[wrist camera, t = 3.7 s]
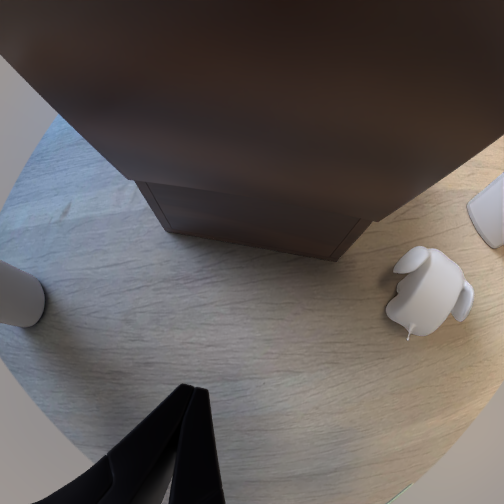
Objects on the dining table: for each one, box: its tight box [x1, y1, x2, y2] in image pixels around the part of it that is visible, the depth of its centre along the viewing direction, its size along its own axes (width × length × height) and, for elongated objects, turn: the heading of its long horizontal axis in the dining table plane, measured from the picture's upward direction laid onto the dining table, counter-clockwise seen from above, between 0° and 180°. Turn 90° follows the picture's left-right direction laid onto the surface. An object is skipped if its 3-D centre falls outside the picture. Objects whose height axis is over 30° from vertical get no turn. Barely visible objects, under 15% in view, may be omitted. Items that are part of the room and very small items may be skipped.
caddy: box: [134, 180, 373, 262], centre depth 22 cm, size 14×14×8 cm
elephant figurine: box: [386, 246, 474, 341], centre depth 20 cm, size 7×8×6 cm
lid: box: [0, 0, 504, 222], centre depth 9 cm, size 14×14×1 cm
